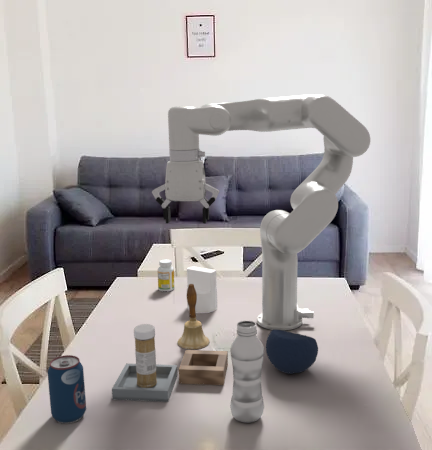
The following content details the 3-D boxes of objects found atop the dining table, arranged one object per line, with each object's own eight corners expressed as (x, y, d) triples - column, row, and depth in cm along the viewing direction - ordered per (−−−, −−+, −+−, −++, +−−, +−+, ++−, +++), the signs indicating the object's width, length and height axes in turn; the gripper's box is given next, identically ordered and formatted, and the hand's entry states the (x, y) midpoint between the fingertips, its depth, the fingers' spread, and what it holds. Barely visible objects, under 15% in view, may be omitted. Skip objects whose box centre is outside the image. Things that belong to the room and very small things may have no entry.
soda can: (86, 422, 119) (82, 367, 116) (50, 427, 118) (45, 371, 115) (86, 405, 126) (82, 352, 123) (52, 409, 124) (47, 355, 122)
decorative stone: (313, 386, 132) (314, 343, 130) (260, 379, 135) (260, 338, 133) (320, 362, 143) (321, 323, 140) (271, 357, 146) (271, 318, 144)
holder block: (227, 364, 143) (227, 351, 142) (223, 385, 133) (223, 370, 132) (186, 363, 144) (185, 349, 143) (179, 383, 134) (178, 369, 133)
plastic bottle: (228, 410, 123) (227, 318, 118) (261, 408, 123) (261, 316, 119) (232, 428, 116) (230, 331, 112) (266, 425, 117) (266, 329, 112)
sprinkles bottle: (153, 377, 136) (150, 321, 133) (160, 386, 132) (157, 329, 129) (133, 381, 134) (130, 325, 131) (140, 391, 130) (137, 333, 127)
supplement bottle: (164, 293, 193) (163, 264, 191) (155, 289, 197) (153, 260, 195) (177, 289, 196) (176, 261, 194) (168, 285, 200) (167, 257, 198)
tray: (177, 375, 138) (177, 365, 137) (168, 401, 126) (167, 391, 126) (126, 373, 139) (126, 363, 139) (112, 399, 128) (111, 388, 127)
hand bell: (205, 350, 151) (204, 290, 147) (173, 348, 152) (171, 288, 149) (212, 337, 158) (211, 279, 155) (181, 335, 160) (180, 278, 156)
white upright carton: (223, 305, 181) (222, 267, 178) (206, 315, 174) (205, 275, 171) (198, 300, 186) (197, 263, 183) (181, 309, 178) (180, 271, 176)
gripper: (220, 154, 154) (221, 219, 158) (153, 154, 156) (156, 219, 160) (216, 157, 147) (218, 225, 151) (147, 158, 149) (150, 225, 153)
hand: (186, 222), depth 155 cm, fingers open, 9 cm apart
